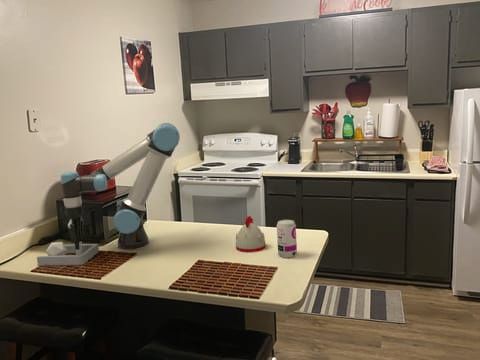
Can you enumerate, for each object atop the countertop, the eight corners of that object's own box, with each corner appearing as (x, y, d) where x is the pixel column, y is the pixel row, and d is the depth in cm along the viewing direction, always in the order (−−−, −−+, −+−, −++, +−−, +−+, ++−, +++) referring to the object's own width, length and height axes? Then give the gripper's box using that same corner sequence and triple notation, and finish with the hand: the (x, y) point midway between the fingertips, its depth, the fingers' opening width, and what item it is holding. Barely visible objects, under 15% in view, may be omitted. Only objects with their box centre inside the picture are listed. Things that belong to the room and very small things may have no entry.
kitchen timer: (231, 251, 204) (229, 219, 202) (242, 242, 217) (240, 212, 214) (260, 253, 199) (258, 220, 196) (269, 243, 211) (268, 213, 209)
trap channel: (99, 251, 216) (98, 243, 215) (83, 264, 199) (82, 256, 198) (56, 252, 218) (55, 245, 217) (37, 265, 201) (36, 257, 201)
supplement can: (299, 253, 196) (298, 219, 194) (293, 259, 189) (292, 225, 186) (281, 251, 200) (280, 218, 197) (275, 257, 192) (273, 224, 190)
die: (55, 264, 203) (66, 245, 205) (39, 255, 204) (50, 237, 206) (62, 264, 211) (73, 246, 213) (47, 256, 212) (58, 238, 214)
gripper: (72, 202, 210) (78, 250, 215) (58, 209, 198) (65, 260, 202) (87, 202, 210) (93, 250, 214) (74, 209, 197) (81, 260, 201)
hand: (79, 255), depth 208 cm, fingers closed
